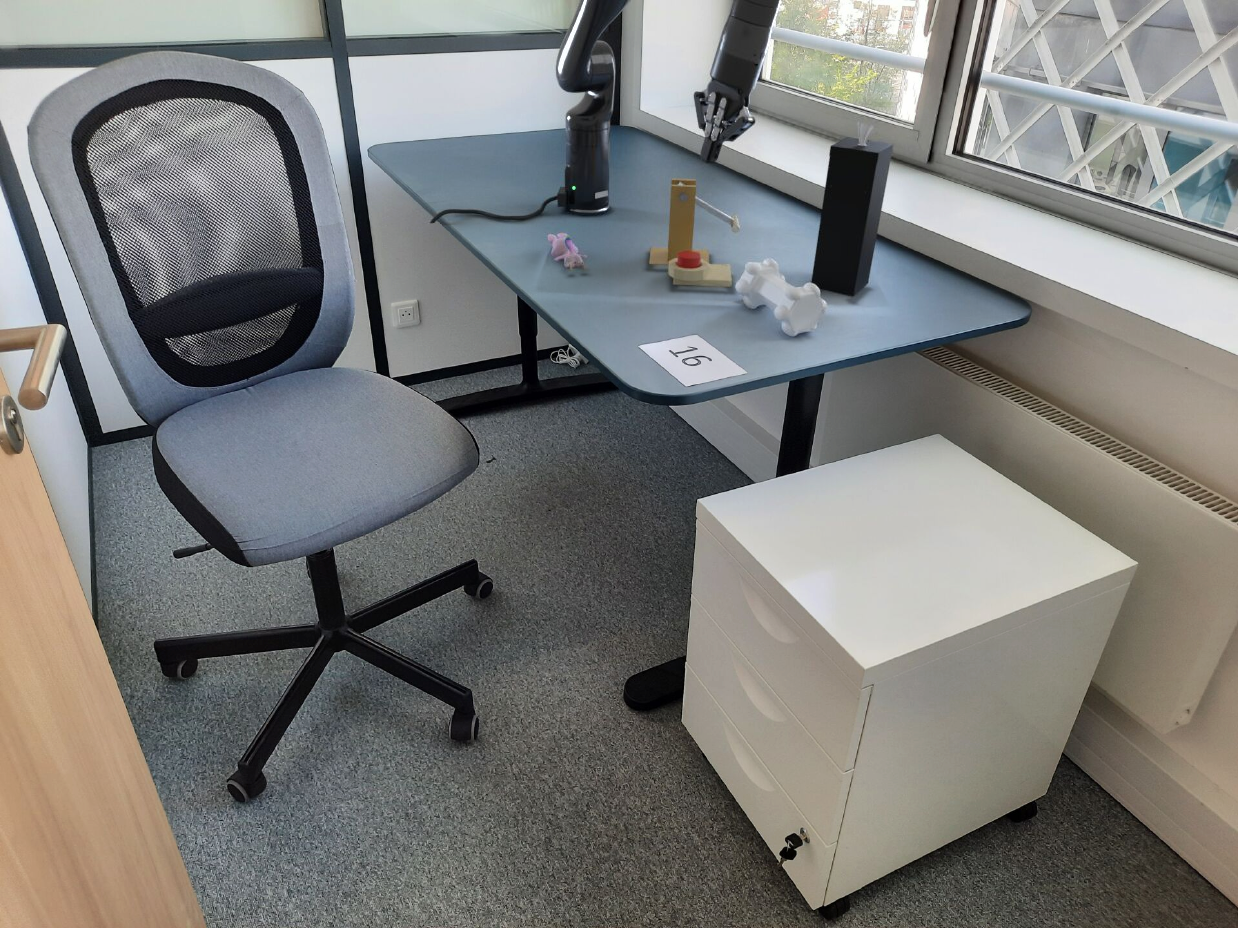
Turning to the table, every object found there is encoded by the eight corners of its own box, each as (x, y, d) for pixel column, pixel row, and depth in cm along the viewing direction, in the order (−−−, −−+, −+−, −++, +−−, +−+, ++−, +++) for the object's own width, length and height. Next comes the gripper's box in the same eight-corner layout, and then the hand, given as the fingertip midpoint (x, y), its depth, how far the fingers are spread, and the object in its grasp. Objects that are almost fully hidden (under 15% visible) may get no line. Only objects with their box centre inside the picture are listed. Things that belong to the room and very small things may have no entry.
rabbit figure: (594, 280, 160) (569, 241, 170) (596, 250, 156) (570, 212, 166) (561, 283, 158) (538, 244, 168) (562, 253, 154) (538, 215, 164)
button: (677, 269, 151) (677, 258, 150) (677, 261, 154) (677, 250, 153) (700, 270, 151) (701, 259, 150) (699, 262, 154) (700, 251, 153)
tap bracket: (707, 255, 168) (713, 177, 160) (709, 272, 160) (715, 190, 152) (650, 253, 168) (653, 175, 160) (648, 270, 161) (652, 188, 153)
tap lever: (733, 226, 163) (740, 215, 162) (735, 236, 158) (742, 225, 157) (673, 190, 160) (680, 178, 159) (672, 199, 155) (679, 187, 154)
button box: (667, 292, 152) (668, 270, 150) (668, 273, 159) (669, 252, 157) (730, 294, 151) (733, 272, 149) (728, 276, 159) (730, 254, 157)
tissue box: (852, 302, 149) (882, 131, 134) (809, 292, 153) (833, 124, 138) (867, 288, 155) (898, 122, 140) (825, 279, 159) (850, 116, 143)
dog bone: (826, 333, 139) (834, 284, 134) (780, 342, 136) (786, 292, 131) (774, 299, 150) (779, 253, 146) (730, 307, 147) (734, 260, 143)
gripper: (696, 36, 137) (665, 146, 147) (754, 64, 130) (718, 177, 140) (729, 41, 142) (697, 147, 152) (787, 68, 135) (749, 177, 144)
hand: (707, 161), depth 146 cm, fingers closed
